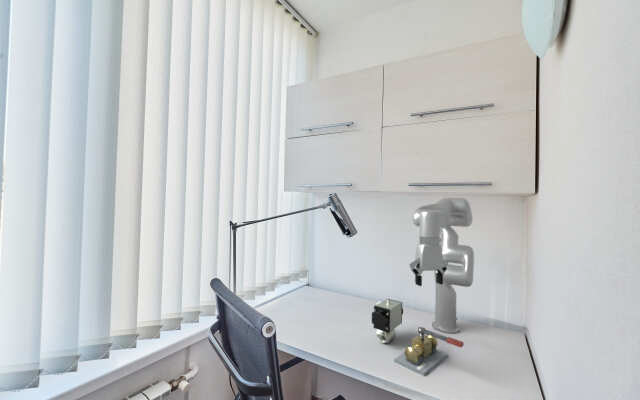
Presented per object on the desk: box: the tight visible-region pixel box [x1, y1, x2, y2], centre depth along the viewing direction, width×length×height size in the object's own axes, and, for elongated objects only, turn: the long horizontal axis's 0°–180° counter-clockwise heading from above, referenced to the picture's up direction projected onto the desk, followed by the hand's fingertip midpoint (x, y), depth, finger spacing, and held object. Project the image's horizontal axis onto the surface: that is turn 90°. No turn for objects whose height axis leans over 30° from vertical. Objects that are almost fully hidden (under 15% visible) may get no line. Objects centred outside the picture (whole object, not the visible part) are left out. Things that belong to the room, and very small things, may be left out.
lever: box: [417, 326, 464, 348], centre depth 103 cm, size 16×3×1 cm, turn 43°
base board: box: [393, 349, 448, 377], centre depth 108 cm, size 20×12×1 cm, turn 133°
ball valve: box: [371, 298, 404, 344], centre depth 123 cm, size 18×8×18 cm, turn 141°
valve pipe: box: [403, 332, 438, 366], centre depth 108 cm, size 17×5×9 cm, turn 133°
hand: (429, 284), depth 110 cm, fingers open, 9 cm apart
